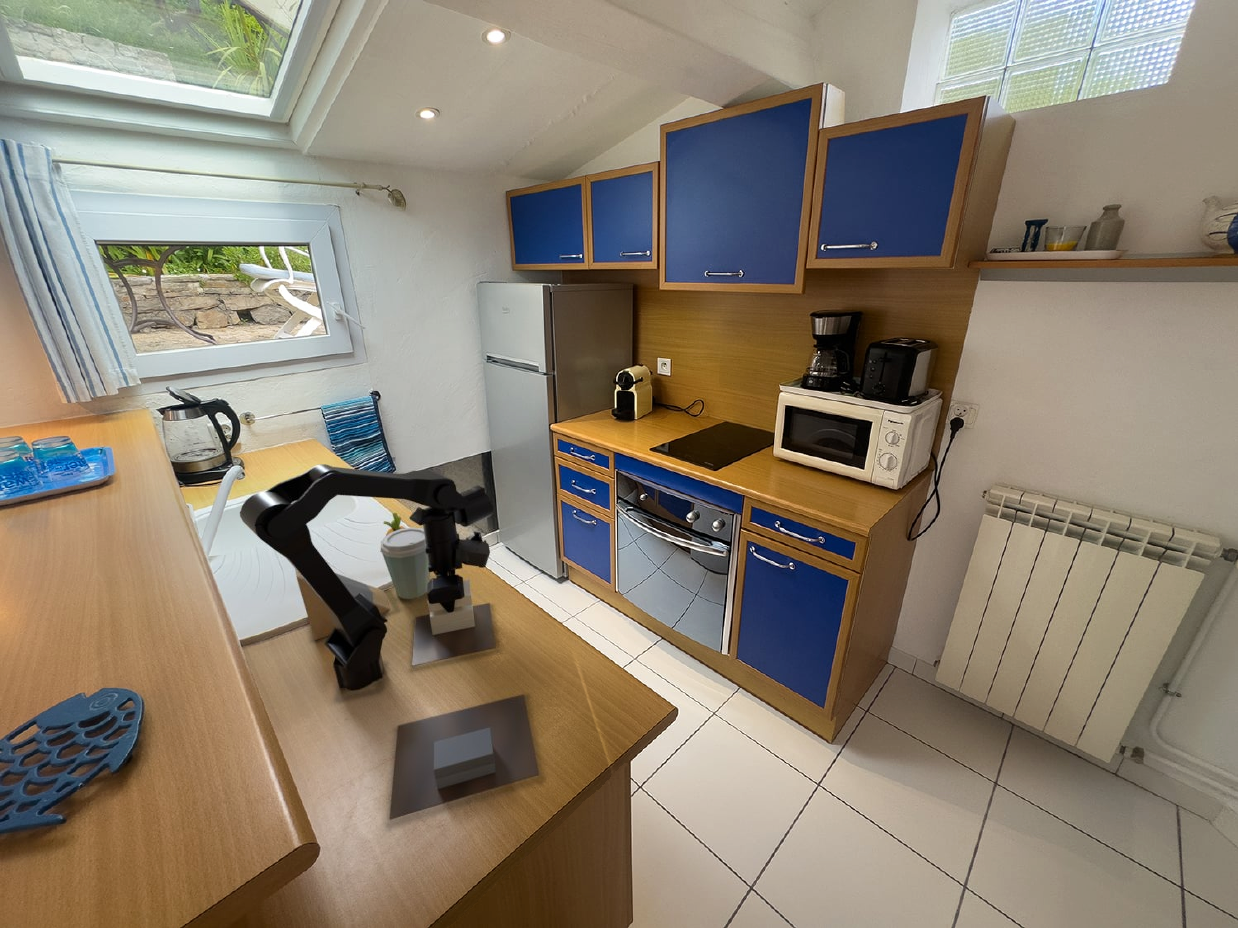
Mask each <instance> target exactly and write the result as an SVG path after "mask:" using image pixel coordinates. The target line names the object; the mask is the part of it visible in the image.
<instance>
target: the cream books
mask: <svg viewBox="0 0 1238 928" xmlns="http://www.w3.org/2000/svg"><path fill="white" fill-rule="evenodd" d="M473 606H474V605H473V603H472V604H471V605H466V606H460V607H455V608H454V612H450V613H448V612H447V611H446V610H445V609H444V610H439V611H433V612H429V614H430V621H431V627H432V633H433V635H435V634H440V633H445V632H450V631H455V630H460V629H465V628H470V627H474V626H475V625H474V614H473Z"/></svg>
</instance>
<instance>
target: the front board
mask: <svg viewBox="0 0 1238 928" xmlns="http://www.w3.org/2000/svg"><path fill="white" fill-rule="evenodd" d="M486 728H491V736H492V745H493V754H494V763H495V773H492V774H488V775H485V776H481V777H478V778H475V779H471V780H468V781H464V782H461V783H457V784H454V785H450V786H447V787H444V788H440V789H437V785H436V780H435V775H434V742H436V741H440V740H444V739H448V738H452V737H455V736H459V735H463V734H467V733H471V732H474V731H478V730H482V729H486ZM537 760H538V759H537V755H536V750H535V744H534V739H533V735H532V729H531V724H530V718H529V714H528V709H527V703H526V698H525V694H520V695H516V696H512V697H508V698H503V699H499V700H496V701H495V700H494V701H492V702H487V703H483V704H480V705H479V704H478V705H476V706H472V707H468V708H463V709H459V710H455V711H452V712H447V713H443V714H439V715H435V716H431V717H426V718H423V719H418V720H414V721H410V722H407V723H403V724H399V725H397V730H396V743H395V754H394V764H393V765H394V766H393V775H392V788H391V799H390V809H389V820H393V819H396V818H397V819H398V818H401V817H404V816H406V815H411V814H414V813H417V812H420V811H424V810H427V809H431V808H433V807H437V806H440V805H444V804H447V803H450V802H453V801H456V800H460V799H463V798H466V797H471V796H474V795H477V794H480V793H483V792H487V791H489V790H493V789H496V788H500V787H503V786H506V785H510V784H514V783H517V782H520V781H523V780H526V779H530V778H533V777H536V776H540V773H539V765H538V761H537Z"/></svg>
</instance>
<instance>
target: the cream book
mask: <svg viewBox="0 0 1238 928" xmlns="http://www.w3.org/2000/svg"><path fill="white" fill-rule="evenodd" d="M463 583H464V594H465V597H463V598H462V599H458V600H455V606H454V608H455V607H460V606H466V605H471V604H472V605H473V597H472V588H471V587H472V586H471V580H470V579H463ZM427 607H428V613H430V612H433V611H439V610H444V608H443V607H442V606H441V604H440V603H436V604H430V603H428V602H427Z"/></svg>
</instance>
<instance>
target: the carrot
mask: <svg viewBox="0 0 1238 928" xmlns="http://www.w3.org/2000/svg"><path fill="white" fill-rule="evenodd" d="M391 514H392V517H393V520H392V521H391V522H390V521H386V520H385V521H383V524H384V525H387V526H388V527H389V529H388V530H387V532H386V534H385V537H386V536H387V535H388V534H389V533H391V532H394V531H397V530H399V529H405V528H406V527H404V526H402V525H401V521H402V517H401V516H399V515H398V513H397V512H393V513H391Z"/></svg>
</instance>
